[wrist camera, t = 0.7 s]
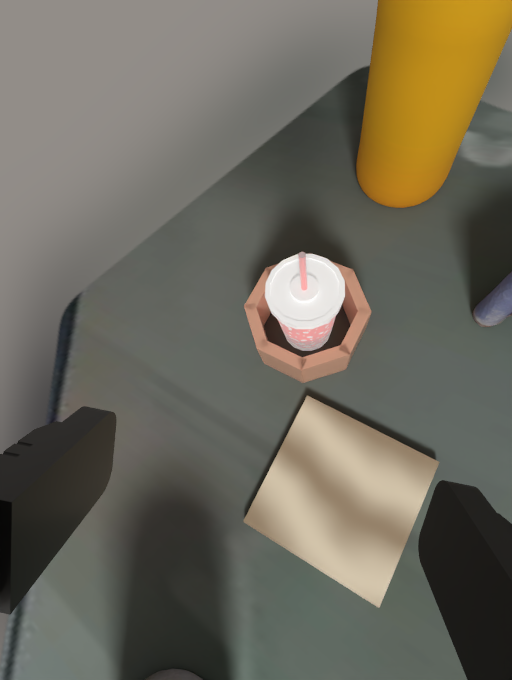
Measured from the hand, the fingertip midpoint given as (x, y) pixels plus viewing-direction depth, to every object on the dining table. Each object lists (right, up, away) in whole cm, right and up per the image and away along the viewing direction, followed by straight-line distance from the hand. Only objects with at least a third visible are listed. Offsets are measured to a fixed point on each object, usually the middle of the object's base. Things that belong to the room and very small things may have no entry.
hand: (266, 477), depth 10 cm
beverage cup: (+5, +4, +29) cm, 29 cm away
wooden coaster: (+7, -10, +23) cm, 26 cm away
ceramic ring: (+5, +5, +28) cm, 29 cm away
